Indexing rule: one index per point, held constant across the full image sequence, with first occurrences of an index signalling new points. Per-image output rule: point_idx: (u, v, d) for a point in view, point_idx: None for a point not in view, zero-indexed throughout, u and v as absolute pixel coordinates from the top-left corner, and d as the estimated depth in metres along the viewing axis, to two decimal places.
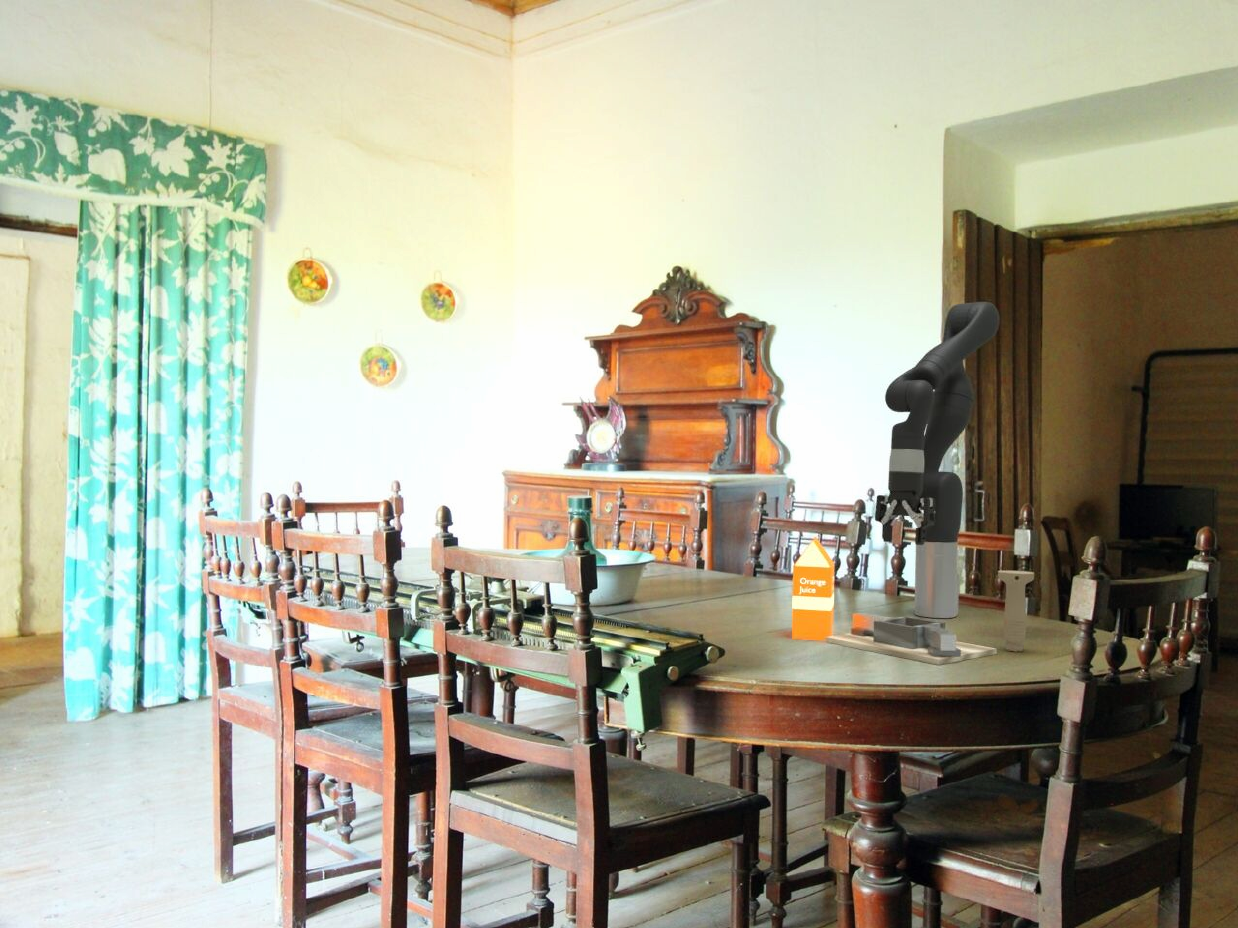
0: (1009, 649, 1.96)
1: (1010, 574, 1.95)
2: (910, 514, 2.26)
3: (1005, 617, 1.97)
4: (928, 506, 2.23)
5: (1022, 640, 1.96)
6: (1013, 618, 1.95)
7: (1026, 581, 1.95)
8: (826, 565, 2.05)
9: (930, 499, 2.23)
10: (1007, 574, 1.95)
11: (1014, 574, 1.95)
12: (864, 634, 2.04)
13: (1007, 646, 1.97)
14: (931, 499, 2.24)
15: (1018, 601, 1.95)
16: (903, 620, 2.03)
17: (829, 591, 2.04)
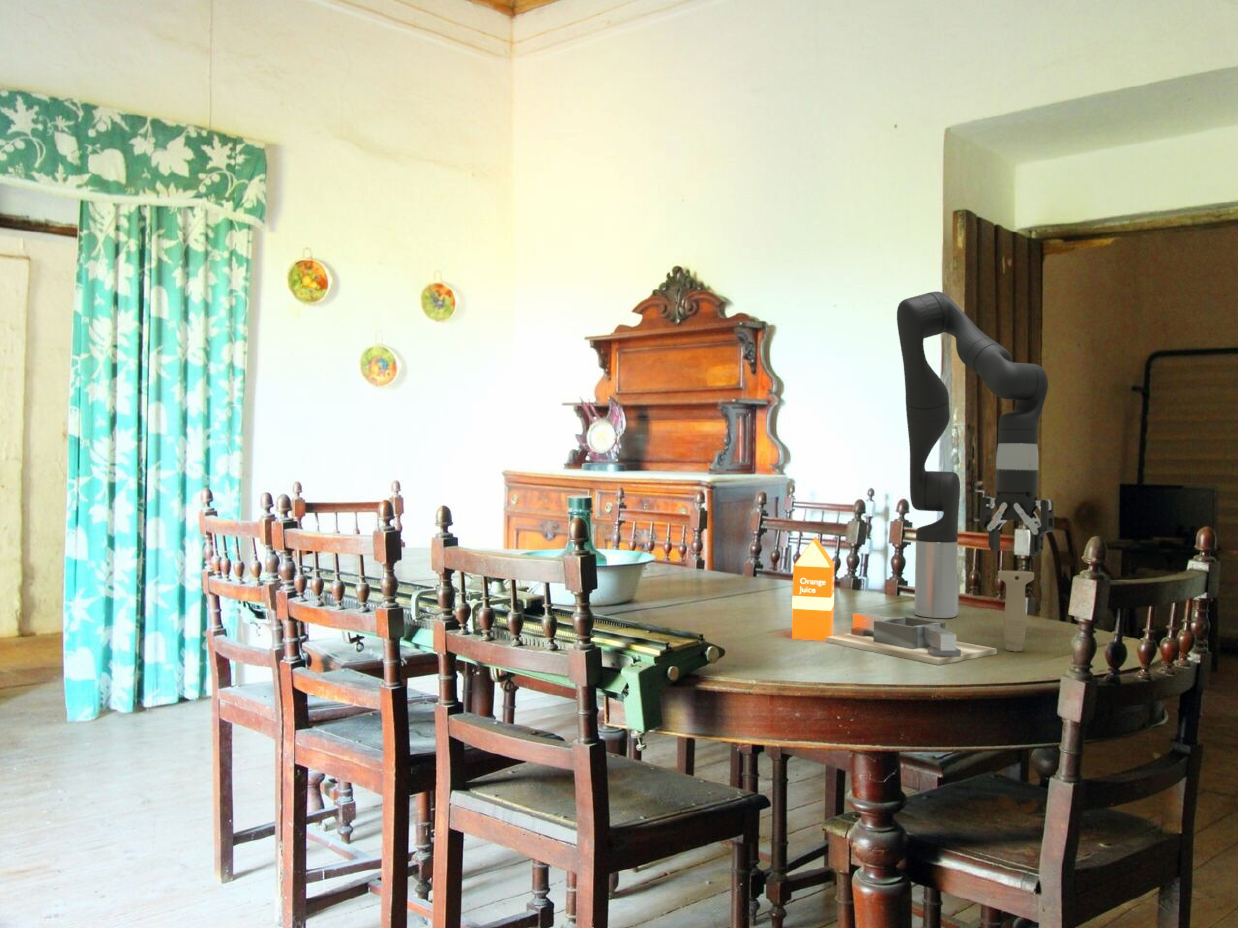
0: (1009, 649, 1.96)
1: (1010, 574, 1.95)
2: (1024, 519, 1.93)
3: (1005, 617, 1.97)
4: (1047, 510, 1.91)
5: (1022, 640, 1.96)
6: (1013, 618, 1.95)
7: (1026, 581, 1.95)
8: (826, 565, 2.05)
9: (1048, 501, 1.91)
10: (1007, 574, 1.95)
11: (1014, 574, 1.95)
12: (864, 634, 2.04)
13: (1007, 646, 1.97)
14: (1049, 501, 1.91)
15: (1018, 601, 1.95)
16: (903, 620, 2.03)
17: (829, 591, 2.04)
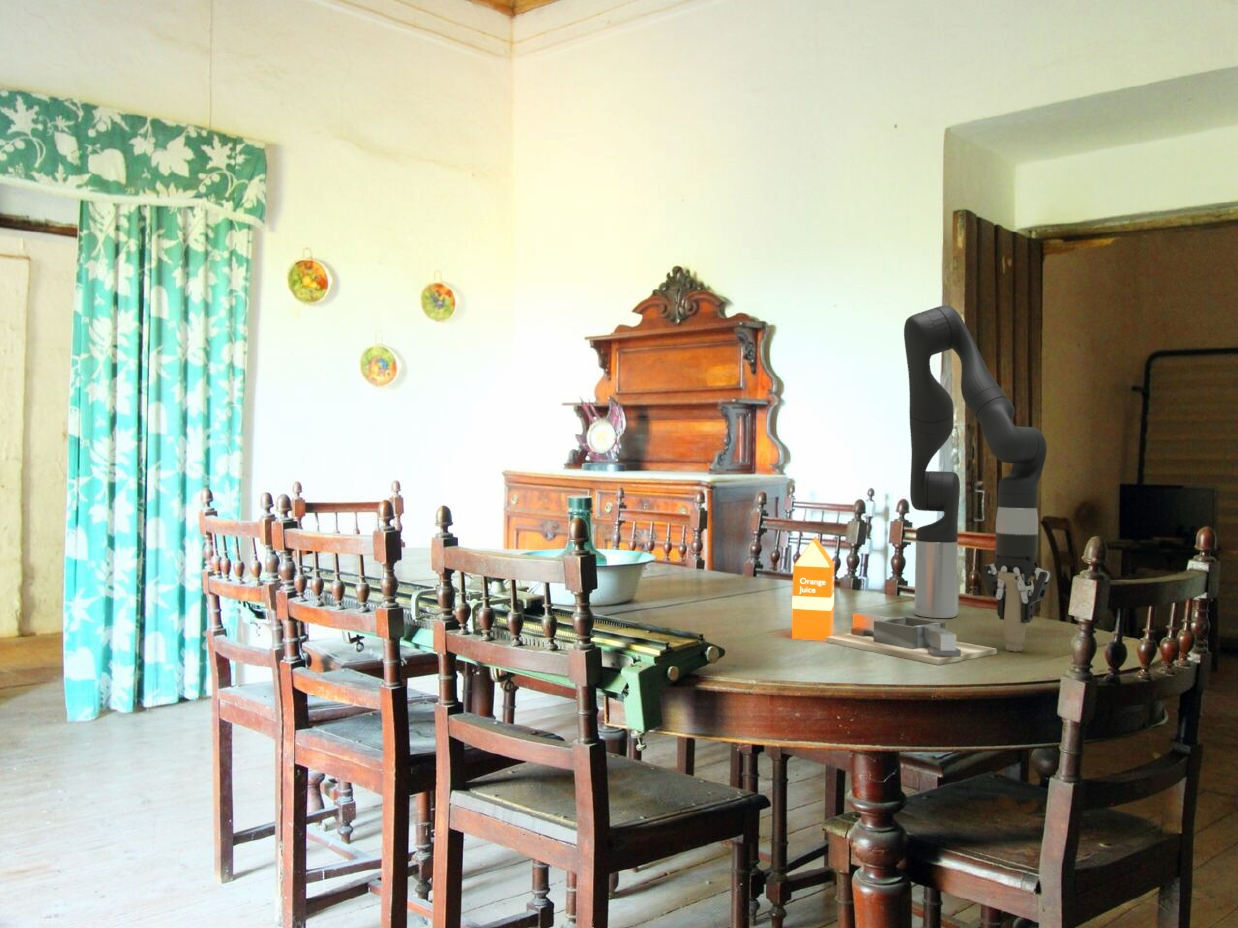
0: (1009, 649, 1.96)
1: (1010, 574, 1.95)
2: (1019, 585, 1.94)
3: (1005, 617, 1.97)
4: (1043, 582, 1.91)
5: (1022, 640, 1.96)
6: (1013, 618, 1.95)
7: None
8: (826, 565, 2.05)
9: (1048, 574, 1.91)
10: (1007, 574, 1.95)
11: (1014, 574, 1.95)
12: (864, 634, 2.04)
13: (1007, 646, 1.97)
14: (1049, 574, 1.92)
15: (1018, 601, 1.95)
16: (903, 620, 2.03)
17: (829, 591, 2.04)
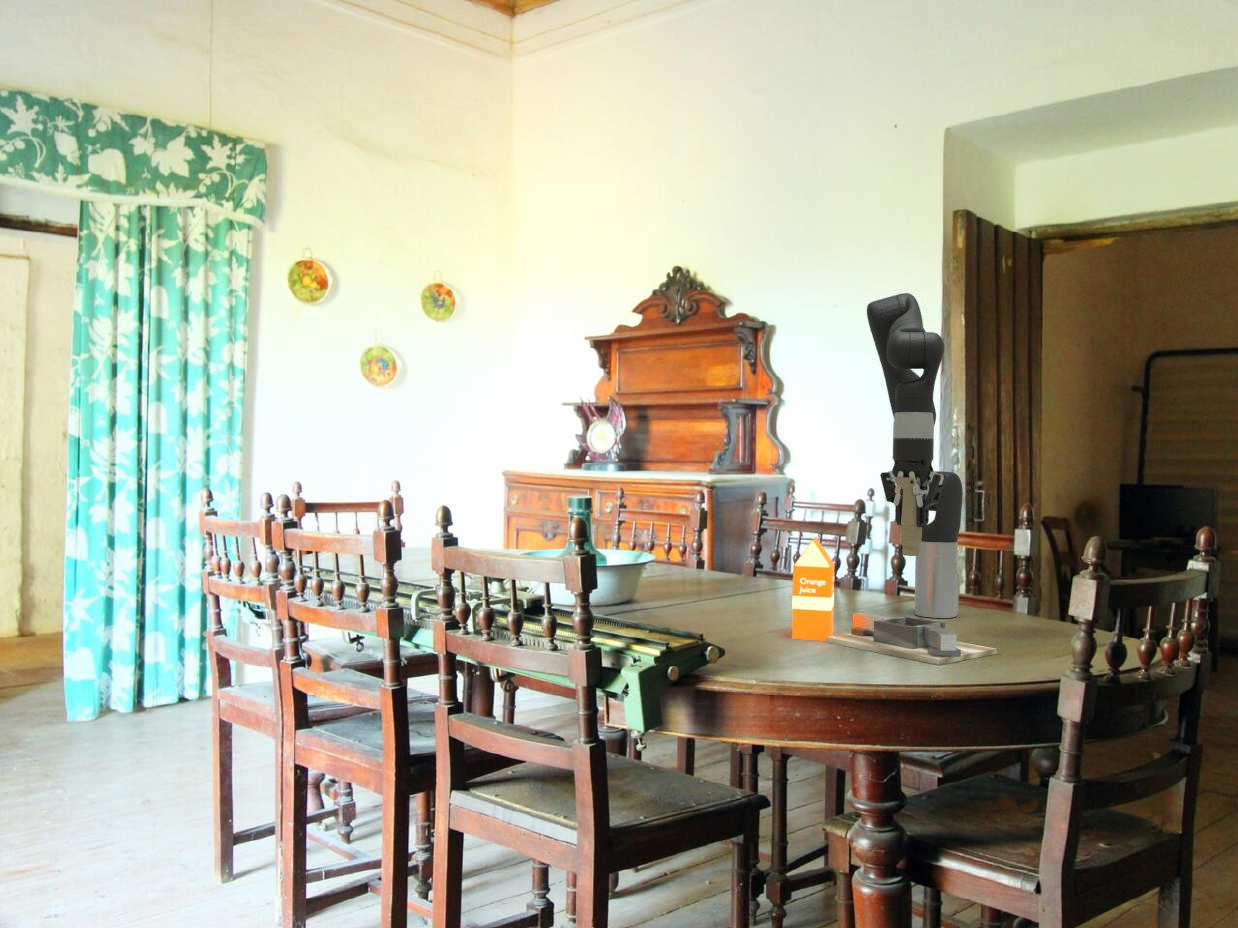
0: (905, 554, 1.97)
1: (905, 478, 1.96)
2: (914, 489, 1.95)
3: (901, 522, 1.98)
4: (936, 485, 1.92)
5: (918, 544, 1.96)
6: (908, 522, 1.96)
7: None
8: (826, 565, 2.05)
9: (941, 477, 1.92)
10: (903, 478, 1.96)
11: (909, 478, 1.95)
12: (864, 634, 2.04)
13: (903, 551, 1.97)
14: (942, 477, 1.93)
15: (914, 505, 1.96)
16: (903, 620, 2.03)
17: (829, 591, 2.04)
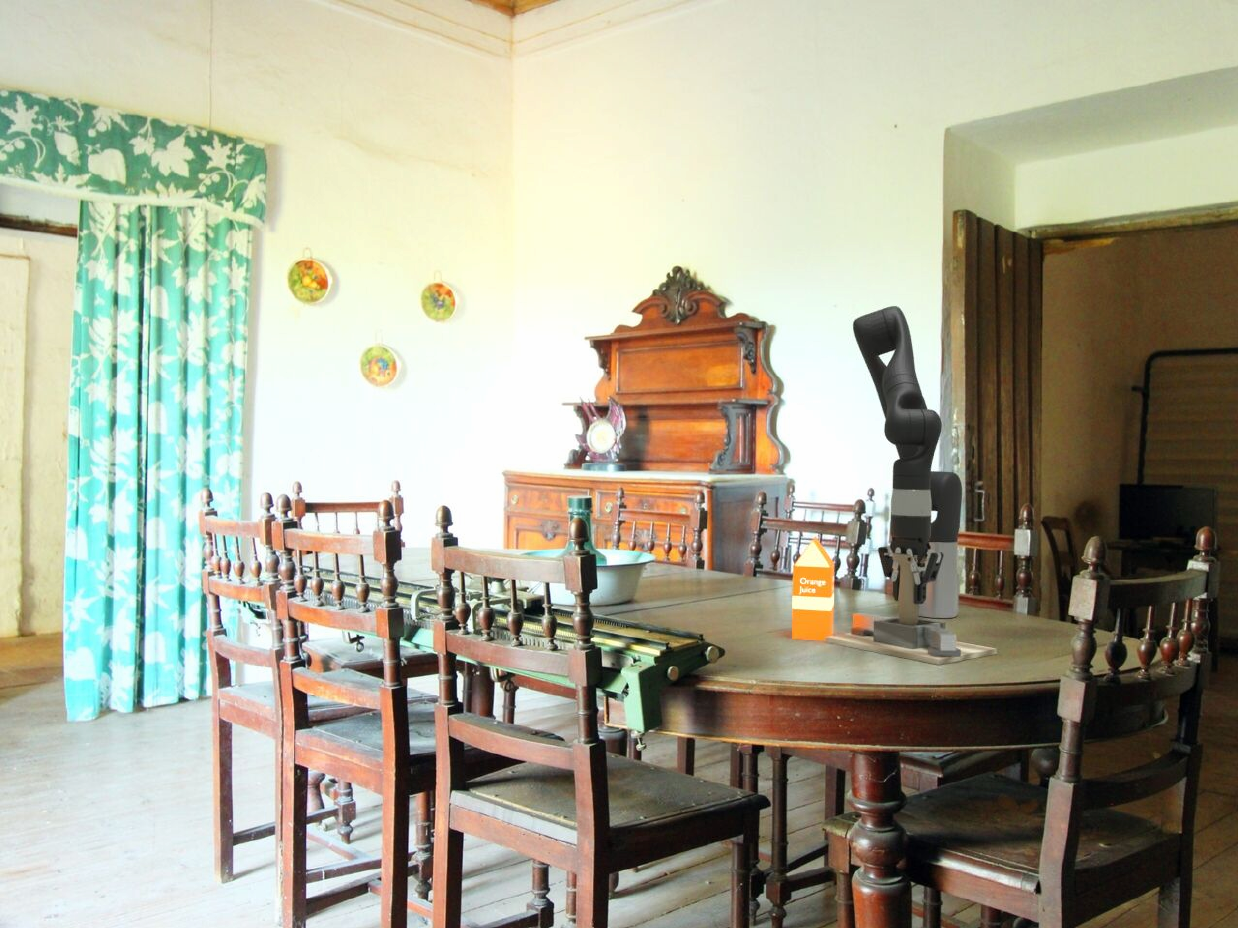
0: None
1: (903, 555, 1.96)
2: (912, 566, 1.96)
3: (899, 598, 1.98)
4: (934, 563, 1.93)
5: (915, 621, 1.97)
6: (906, 599, 1.96)
7: None
8: (826, 565, 2.05)
9: (938, 555, 1.93)
10: (900, 555, 1.96)
11: (907, 555, 1.96)
12: (864, 634, 2.04)
13: None
14: (940, 555, 1.93)
15: (911, 582, 1.96)
16: None
17: (829, 591, 2.04)
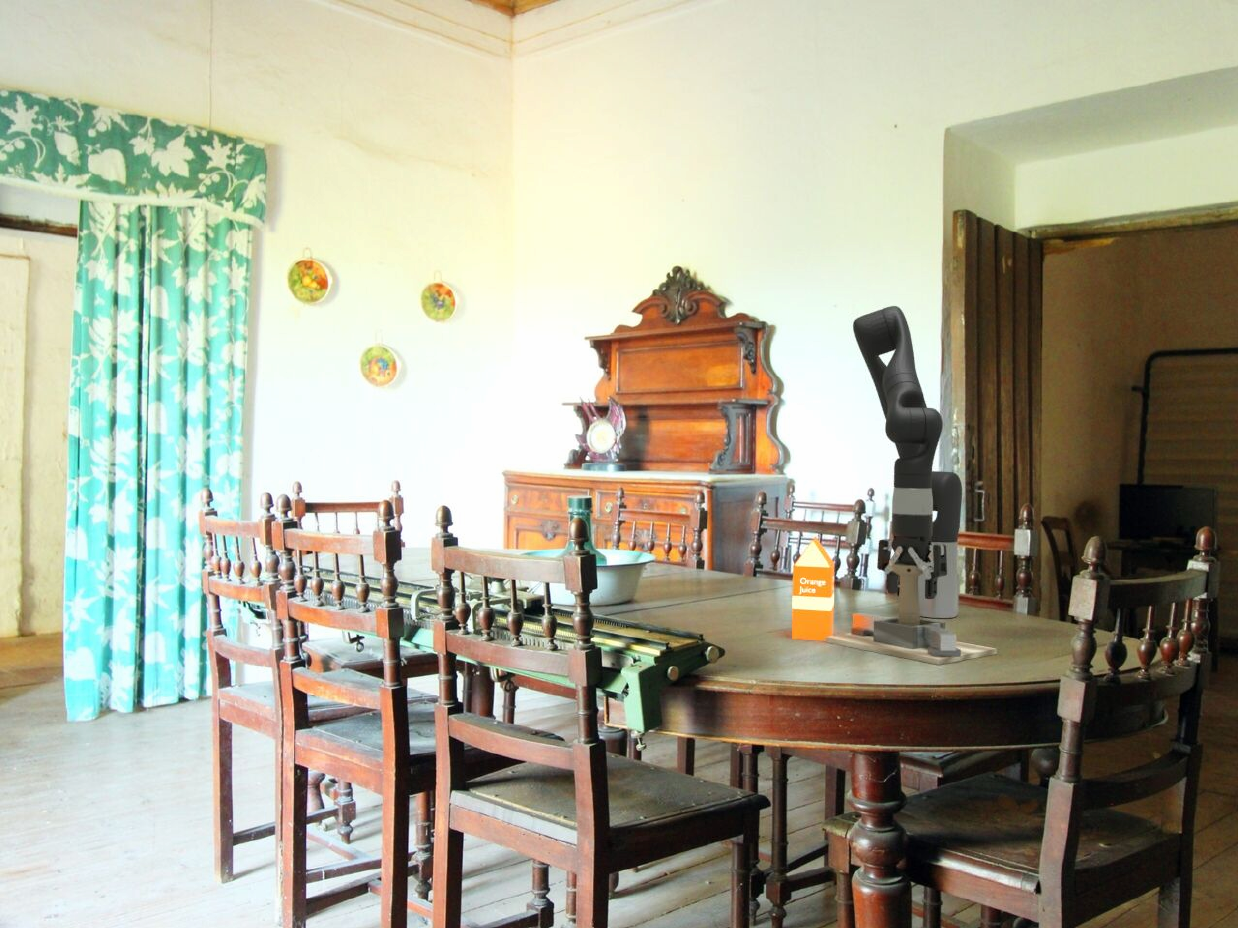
0: None
1: (902, 567, 1.96)
2: (918, 563, 1.95)
3: (899, 609, 1.98)
4: (939, 555, 1.92)
5: None
6: (906, 610, 1.96)
7: (918, 573, 1.96)
8: (826, 565, 2.05)
9: (941, 546, 1.92)
10: (899, 567, 1.96)
11: (906, 567, 1.96)
12: (864, 634, 2.04)
13: None
14: (942, 546, 1.93)
15: (911, 593, 1.96)
16: None
17: (829, 591, 2.04)
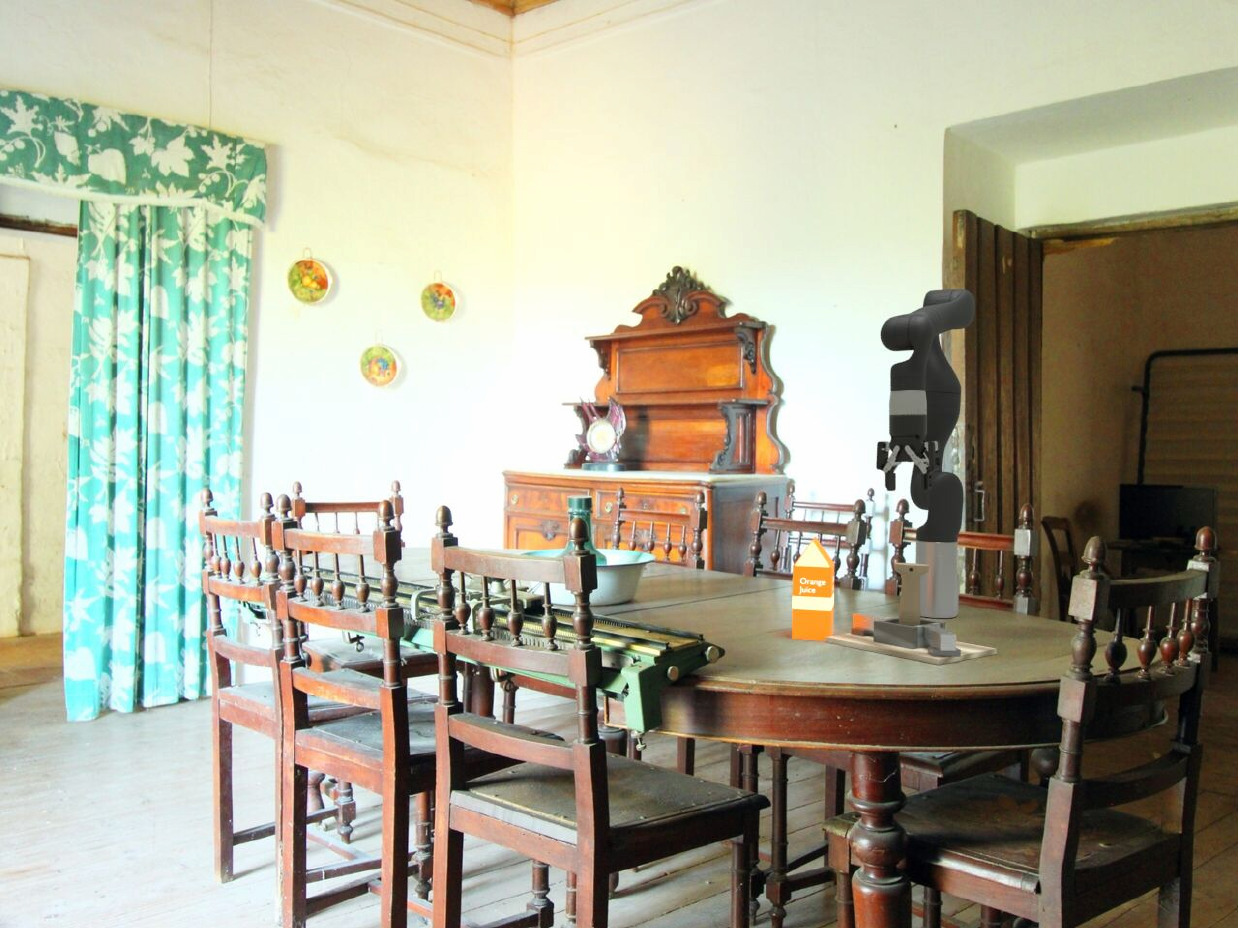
0: None
1: (905, 566, 1.96)
2: (914, 460, 2.10)
3: (900, 609, 1.98)
4: (933, 450, 2.08)
5: None
6: (907, 610, 1.97)
7: (920, 573, 1.96)
8: (826, 565, 2.05)
9: (935, 442, 2.08)
10: (902, 566, 1.97)
11: (908, 566, 1.96)
12: (864, 634, 2.04)
13: None
14: (936, 442, 2.08)
15: (913, 593, 1.96)
16: None
17: (829, 591, 2.04)
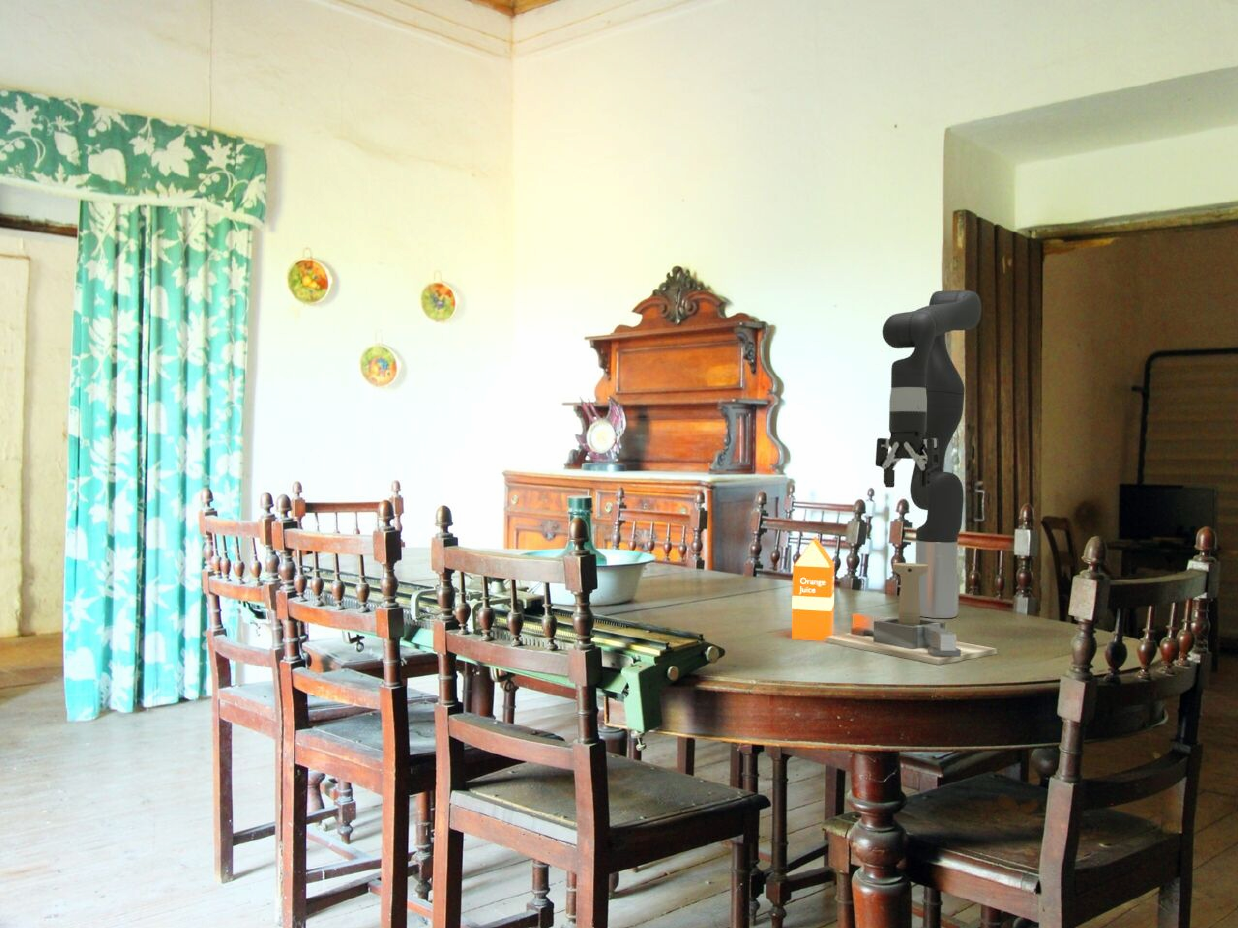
0: None
1: (903, 566, 1.96)
2: (913, 456, 2.11)
3: (899, 609, 1.98)
4: (932, 447, 2.08)
5: None
6: (906, 610, 1.96)
7: (919, 573, 1.96)
8: (826, 565, 2.05)
9: (934, 439, 2.09)
10: (900, 566, 1.96)
11: (907, 566, 1.96)
12: (864, 634, 2.04)
13: None
14: (935, 439, 2.09)
15: (912, 593, 1.96)
16: None
17: (829, 591, 2.04)
